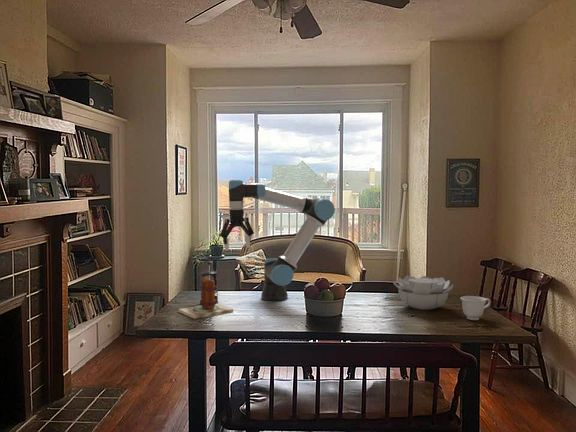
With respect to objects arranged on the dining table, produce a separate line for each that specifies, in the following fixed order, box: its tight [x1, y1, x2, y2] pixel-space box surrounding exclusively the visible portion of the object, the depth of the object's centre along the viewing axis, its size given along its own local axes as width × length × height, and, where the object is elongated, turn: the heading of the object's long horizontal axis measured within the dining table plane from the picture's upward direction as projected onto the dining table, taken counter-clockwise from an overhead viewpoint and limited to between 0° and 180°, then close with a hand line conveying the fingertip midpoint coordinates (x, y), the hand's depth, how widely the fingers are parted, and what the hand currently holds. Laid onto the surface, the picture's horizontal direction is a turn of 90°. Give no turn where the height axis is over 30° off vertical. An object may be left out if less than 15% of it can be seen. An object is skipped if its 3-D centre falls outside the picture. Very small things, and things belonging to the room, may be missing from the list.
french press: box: [200, 260, 219, 304], centre depth 275 cm, size 12×9×23 cm
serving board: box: [178, 303, 234, 320], centre depth 255 cm, size 22×17×2 cm
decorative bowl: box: [392, 275, 454, 311], centre depth 266 cm, size 30×30×15 cm
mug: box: [199, 276, 218, 309], centre depth 255 cm, size 15×8×15 cm, turn 17°
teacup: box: [460, 295, 492, 321], centre depth 244 cm, size 12×15×10 cm
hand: (237, 249), depth 267 cm, fingers open, 13 cm apart
